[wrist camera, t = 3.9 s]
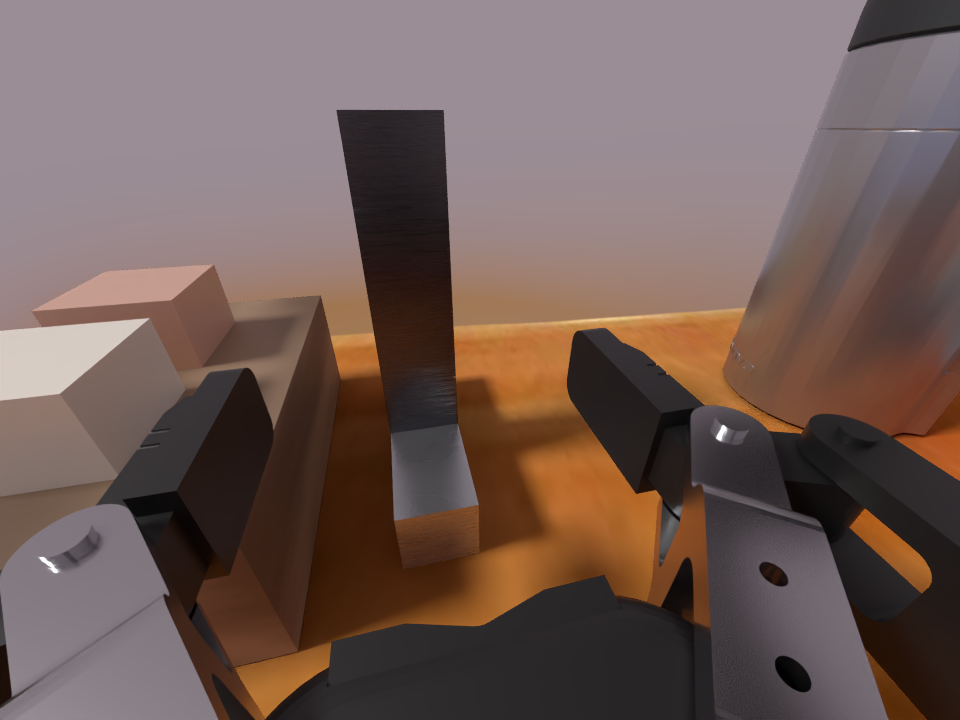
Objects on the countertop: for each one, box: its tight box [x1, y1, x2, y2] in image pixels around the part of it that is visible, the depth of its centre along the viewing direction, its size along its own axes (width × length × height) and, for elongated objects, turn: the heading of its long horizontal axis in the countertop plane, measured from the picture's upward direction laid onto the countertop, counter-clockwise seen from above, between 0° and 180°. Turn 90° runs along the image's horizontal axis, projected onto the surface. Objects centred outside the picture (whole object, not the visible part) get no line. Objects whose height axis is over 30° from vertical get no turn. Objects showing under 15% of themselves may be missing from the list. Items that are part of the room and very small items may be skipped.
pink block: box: [32, 265, 235, 370], centre depth 17 cm, size 4×4×3 cm
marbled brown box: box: [0, 296, 340, 667], centre depth 16 cm, size 12×16×6 cm
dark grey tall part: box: [337, 110, 479, 569], centre depth 16 cm, size 3×12×15 cm, turn 12°
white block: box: [0, 318, 186, 497], centre depth 12 cm, size 4×4×3 cm
